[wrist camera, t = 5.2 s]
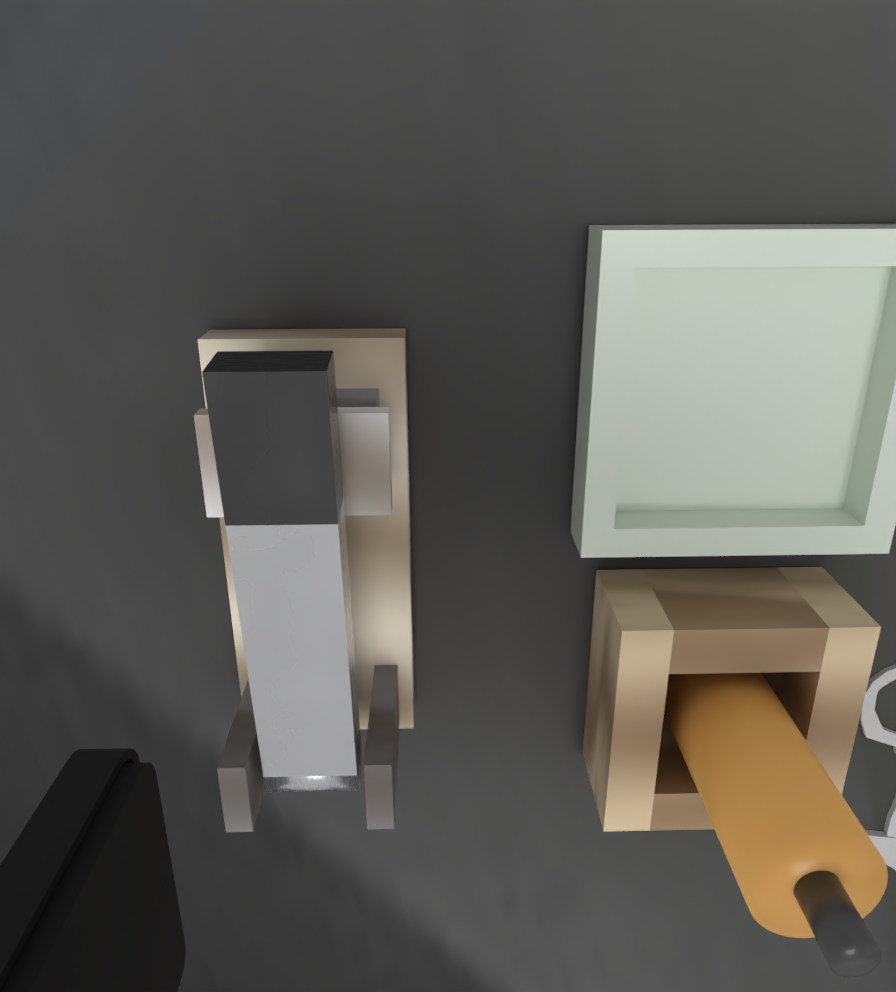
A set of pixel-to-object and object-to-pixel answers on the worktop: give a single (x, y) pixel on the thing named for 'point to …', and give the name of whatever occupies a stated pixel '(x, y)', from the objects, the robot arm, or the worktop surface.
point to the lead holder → (714, 649)
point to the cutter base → (371, 554)
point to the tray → (737, 391)
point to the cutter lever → (289, 560)
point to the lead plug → (778, 816)
